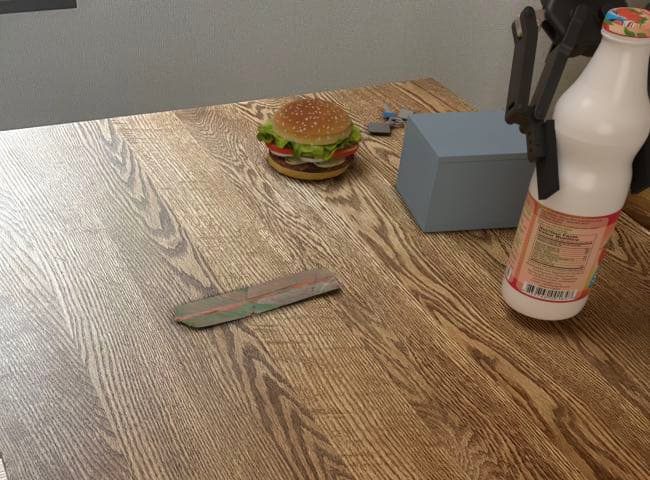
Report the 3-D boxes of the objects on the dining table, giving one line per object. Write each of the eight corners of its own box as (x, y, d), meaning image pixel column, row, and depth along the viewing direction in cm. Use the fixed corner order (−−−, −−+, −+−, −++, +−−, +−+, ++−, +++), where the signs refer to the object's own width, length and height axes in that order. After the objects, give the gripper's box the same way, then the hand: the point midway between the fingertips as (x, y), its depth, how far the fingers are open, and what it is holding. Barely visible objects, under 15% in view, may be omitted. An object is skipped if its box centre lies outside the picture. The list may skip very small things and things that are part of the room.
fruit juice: (483, 283, 94) (559, 2, 73) (554, 271, 96) (648, -5, 75) (526, 329, 88) (621, 37, 67) (601, 315, 90) (716, 28, 69)
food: (312, 133, 123) (317, 76, 118) (374, 169, 116) (383, 110, 110) (238, 155, 118) (239, 95, 112) (298, 194, 111) (303, 133, 105)
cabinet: (495, 181, 115) (514, 109, 108) (530, 226, 107) (553, 151, 99) (395, 186, 113) (407, 113, 106) (423, 232, 105) (439, 156, 97)
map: (165, 314, 92) (165, 307, 91) (323, 265, 98) (323, 258, 97) (184, 338, 89) (184, 331, 88) (345, 286, 95) (346, 279, 94)
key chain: (376, 138, 123) (377, 132, 122) (343, 118, 127) (343, 113, 126) (445, 119, 128) (446, 114, 127) (411, 101, 132) (411, 96, 132)
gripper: (659, -27, 83) (673, 199, 85) (455, -22, 81) (473, 211, 82) (710, -78, 76) (725, 171, 78) (487, -74, 73) (507, 183, 75)
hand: (596, 192), depth 80 cm, fingers closed on fruit juice, 9 cm apart
